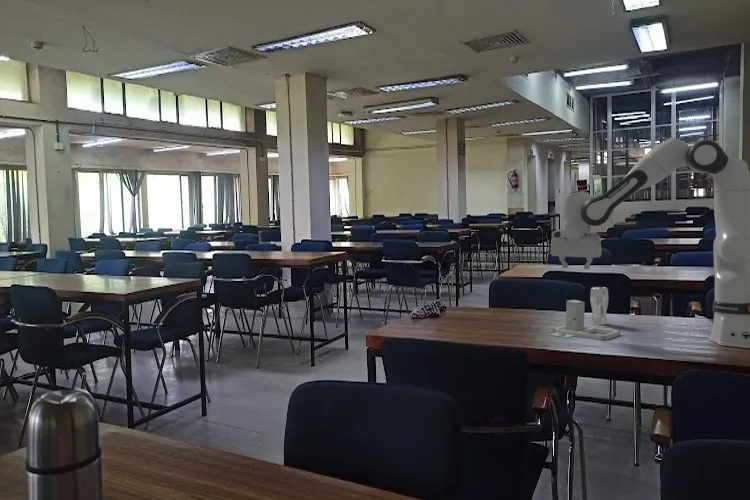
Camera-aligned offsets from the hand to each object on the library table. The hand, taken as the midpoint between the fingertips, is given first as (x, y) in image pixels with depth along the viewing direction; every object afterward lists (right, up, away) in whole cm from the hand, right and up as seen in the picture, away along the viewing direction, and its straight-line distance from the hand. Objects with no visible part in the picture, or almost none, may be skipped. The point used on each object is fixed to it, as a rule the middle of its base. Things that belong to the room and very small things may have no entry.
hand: (575, 268), depth 231 cm
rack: (+1, -25, -4) cm, 26 cm away
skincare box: (0, -25, +1) cm, 25 cm away
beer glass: (+15, -24, +16) cm, 32 cm away
